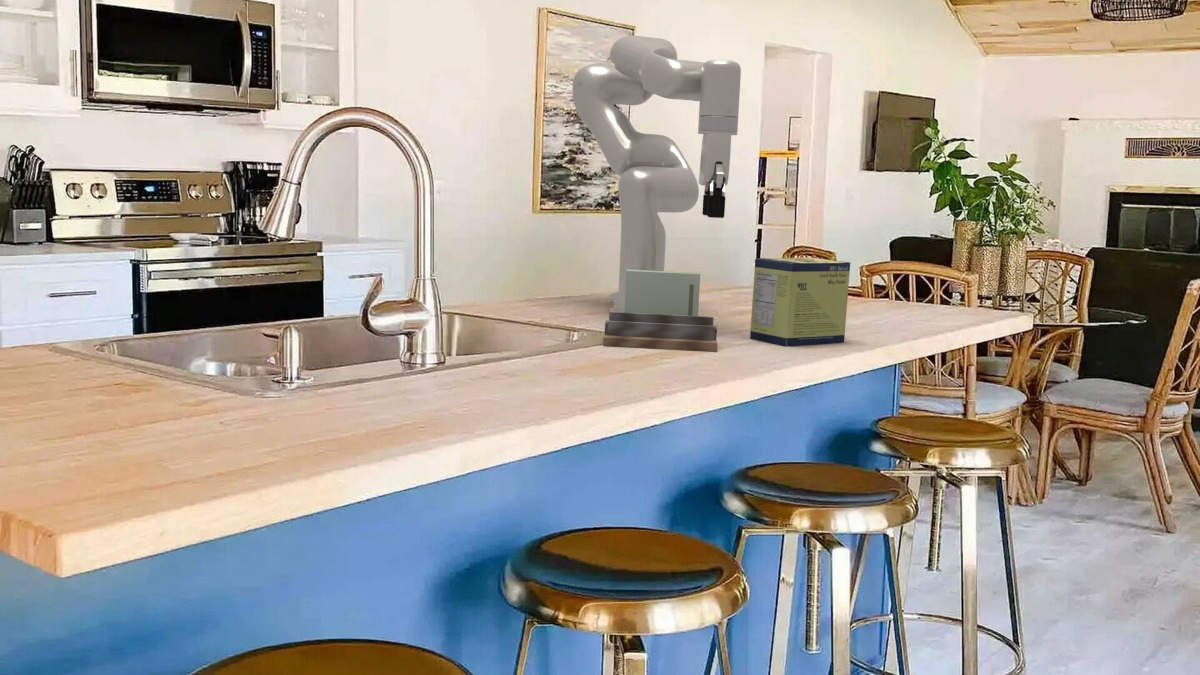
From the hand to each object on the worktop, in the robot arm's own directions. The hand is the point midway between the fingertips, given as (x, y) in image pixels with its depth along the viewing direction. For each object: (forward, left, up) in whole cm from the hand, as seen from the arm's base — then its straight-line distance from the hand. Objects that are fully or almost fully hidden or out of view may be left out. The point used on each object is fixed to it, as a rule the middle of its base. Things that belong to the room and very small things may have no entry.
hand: (713, 216), depth 228 cm
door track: (+5, -20, -23) cm, 31 cm away
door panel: (-3, -10, -23) cm, 25 cm away
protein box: (+16, +7, -23) cm, 29 cm away
